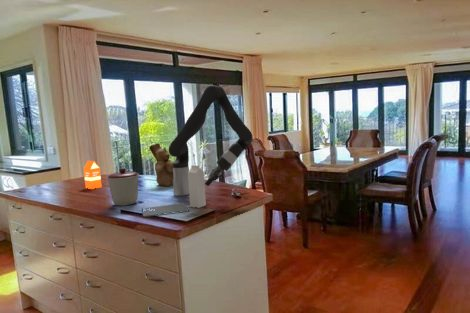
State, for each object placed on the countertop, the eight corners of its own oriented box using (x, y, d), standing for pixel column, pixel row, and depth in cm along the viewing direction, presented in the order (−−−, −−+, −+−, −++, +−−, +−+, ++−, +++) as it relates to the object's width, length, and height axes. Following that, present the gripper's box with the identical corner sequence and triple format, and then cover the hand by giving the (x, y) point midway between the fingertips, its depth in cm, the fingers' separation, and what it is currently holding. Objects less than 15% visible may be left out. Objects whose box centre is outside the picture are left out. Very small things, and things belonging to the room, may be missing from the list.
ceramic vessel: (168, 187, 245) (165, 144, 241) (146, 185, 256) (142, 144, 253) (183, 183, 258) (180, 142, 254) (162, 181, 270) (158, 142, 266)
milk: (197, 204, 193) (195, 164, 190) (206, 205, 189) (203, 164, 187) (190, 206, 188) (187, 166, 185) (198, 208, 184) (195, 166, 182)
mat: (143, 217, 173) (143, 216, 173) (141, 209, 188) (141, 208, 188) (189, 211, 179) (189, 209, 179) (184, 204, 194) (184, 203, 194)
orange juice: (95, 186, 265) (92, 160, 263) (101, 187, 260) (99, 160, 258) (85, 188, 259) (82, 161, 257) (92, 189, 254) (89, 161, 252)
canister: (116, 200, 213) (112, 166, 210) (145, 199, 212) (142, 164, 210) (104, 208, 195) (100, 171, 192) (136, 207, 194) (132, 169, 192)
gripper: (218, 154, 196) (198, 178, 194) (225, 157, 183) (203, 182, 181) (228, 163, 198) (208, 187, 196) (235, 166, 186) (214, 191, 184)
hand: (206, 185), depth 189 cm, fingers closed
